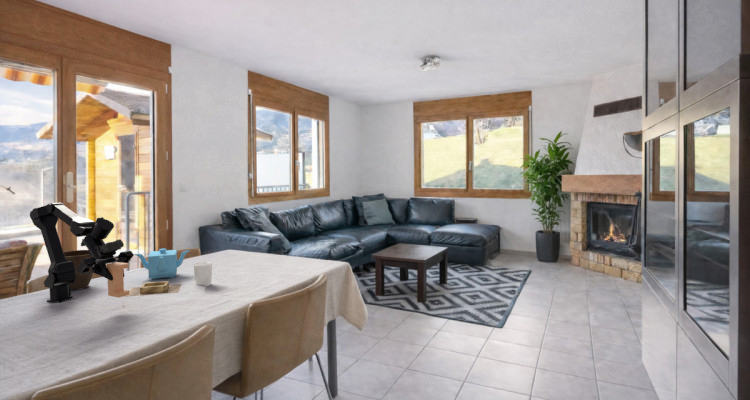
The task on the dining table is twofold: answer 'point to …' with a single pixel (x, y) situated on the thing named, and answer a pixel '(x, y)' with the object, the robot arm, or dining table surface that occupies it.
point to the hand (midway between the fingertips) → (118, 278)
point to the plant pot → (77, 258)
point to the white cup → (203, 273)
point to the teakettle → (162, 263)
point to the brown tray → (154, 288)
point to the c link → (117, 279)
